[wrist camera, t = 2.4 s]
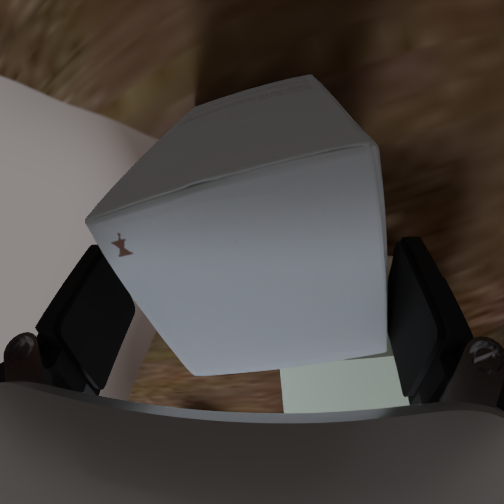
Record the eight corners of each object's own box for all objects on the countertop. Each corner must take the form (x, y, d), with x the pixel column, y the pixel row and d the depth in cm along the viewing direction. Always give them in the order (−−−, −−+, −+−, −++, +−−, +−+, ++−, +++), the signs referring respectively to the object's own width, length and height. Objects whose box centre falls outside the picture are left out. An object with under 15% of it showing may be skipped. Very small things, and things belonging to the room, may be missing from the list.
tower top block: (281, 304, 21) (279, 362, 17) (440, 294, 19) (461, 346, 16) (287, 387, 27) (285, 432, 24) (405, 378, 26) (413, 421, 22)
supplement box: (231, 209, 22) (187, 381, 12) (191, 104, 17) (71, 218, 7) (343, 186, 20) (390, 358, 10) (317, 70, 16) (380, 136, 6)
